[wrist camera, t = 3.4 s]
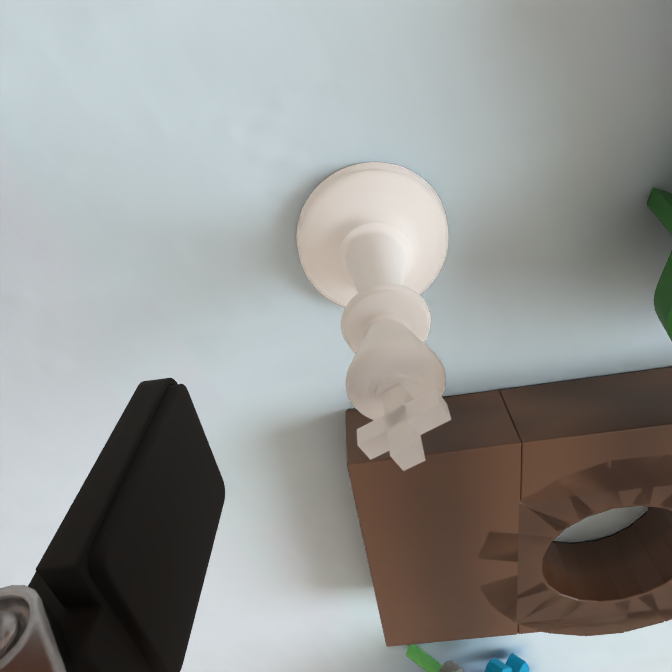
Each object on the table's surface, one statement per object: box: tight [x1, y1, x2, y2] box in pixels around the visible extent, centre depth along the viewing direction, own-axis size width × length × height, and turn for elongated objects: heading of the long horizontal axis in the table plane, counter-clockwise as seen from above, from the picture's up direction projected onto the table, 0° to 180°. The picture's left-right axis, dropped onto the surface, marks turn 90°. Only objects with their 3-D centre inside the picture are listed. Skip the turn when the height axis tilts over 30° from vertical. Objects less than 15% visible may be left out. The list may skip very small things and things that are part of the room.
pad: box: [345, 367, 672, 647], centre depth 23 cm, size 16×13×3 cm
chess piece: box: [297, 162, 451, 471], centre depth 13 cm, size 5×5×10 cm
